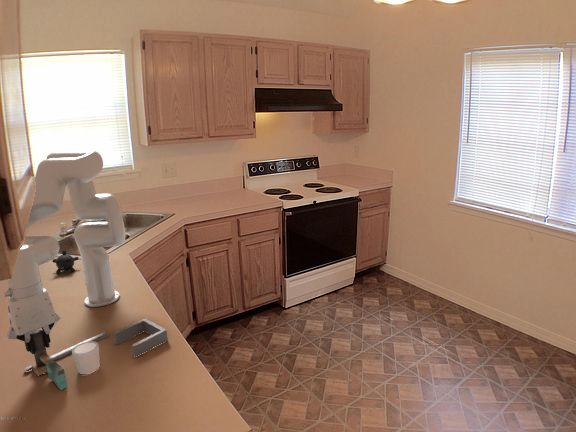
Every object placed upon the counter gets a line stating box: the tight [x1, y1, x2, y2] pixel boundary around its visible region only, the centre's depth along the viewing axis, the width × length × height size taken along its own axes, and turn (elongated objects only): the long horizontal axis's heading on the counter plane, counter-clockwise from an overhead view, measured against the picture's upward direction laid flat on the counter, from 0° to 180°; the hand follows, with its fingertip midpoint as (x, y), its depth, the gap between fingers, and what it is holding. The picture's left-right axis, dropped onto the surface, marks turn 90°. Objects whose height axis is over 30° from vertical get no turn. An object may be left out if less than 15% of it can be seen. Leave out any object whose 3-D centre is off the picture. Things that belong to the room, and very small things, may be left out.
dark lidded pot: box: [51, 249, 79, 275], centre depth 185 cm, size 11×11×12 cm
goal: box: [112, 318, 169, 358], centre depth 126 cm, size 12×11×4 cm
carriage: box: [30, 329, 68, 391], centre depth 109 cm, size 16×4×12 cm, turn 51°
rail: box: [23, 331, 109, 372], centre depth 122 cm, size 1×24×1 cm, turn 141°
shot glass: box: [71, 341, 101, 375], centre depth 113 cm, size 7×7×7 cm
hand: (39, 348), depth 112 cm, fingers closed on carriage, 3 cm apart
